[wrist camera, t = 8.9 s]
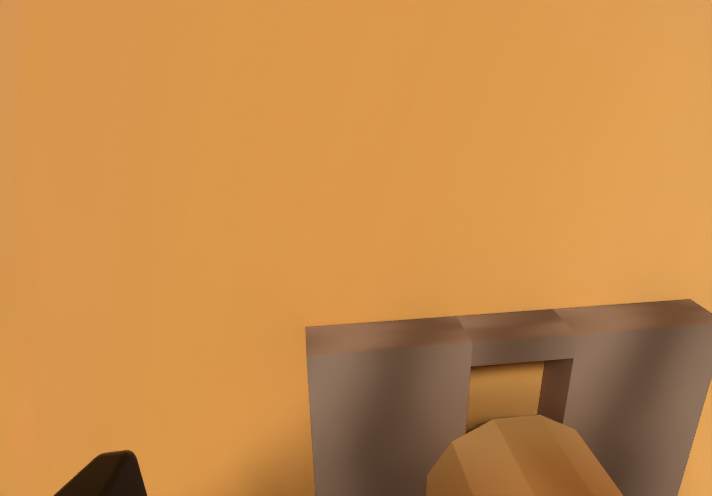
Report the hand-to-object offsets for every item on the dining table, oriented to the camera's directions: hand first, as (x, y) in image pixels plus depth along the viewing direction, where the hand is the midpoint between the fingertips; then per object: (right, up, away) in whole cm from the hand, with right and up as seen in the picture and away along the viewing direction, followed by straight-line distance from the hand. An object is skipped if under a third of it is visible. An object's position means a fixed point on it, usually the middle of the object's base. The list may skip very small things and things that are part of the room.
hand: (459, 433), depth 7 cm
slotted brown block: (+5, -6, +16) cm, 18 cm away
